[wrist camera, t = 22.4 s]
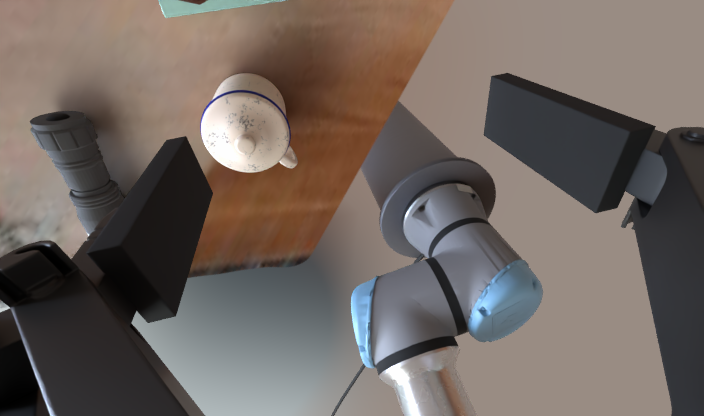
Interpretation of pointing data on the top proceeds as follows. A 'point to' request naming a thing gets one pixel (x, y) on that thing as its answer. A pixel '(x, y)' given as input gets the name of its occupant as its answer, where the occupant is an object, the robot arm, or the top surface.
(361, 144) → the top surface
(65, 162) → the flashlight
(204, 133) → the teacup with lid
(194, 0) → the ice cream bowl
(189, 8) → the scale
